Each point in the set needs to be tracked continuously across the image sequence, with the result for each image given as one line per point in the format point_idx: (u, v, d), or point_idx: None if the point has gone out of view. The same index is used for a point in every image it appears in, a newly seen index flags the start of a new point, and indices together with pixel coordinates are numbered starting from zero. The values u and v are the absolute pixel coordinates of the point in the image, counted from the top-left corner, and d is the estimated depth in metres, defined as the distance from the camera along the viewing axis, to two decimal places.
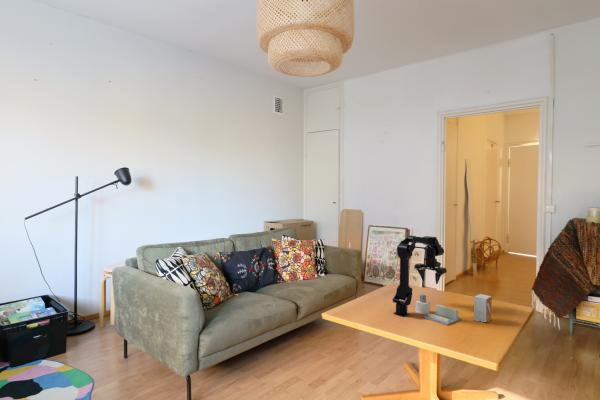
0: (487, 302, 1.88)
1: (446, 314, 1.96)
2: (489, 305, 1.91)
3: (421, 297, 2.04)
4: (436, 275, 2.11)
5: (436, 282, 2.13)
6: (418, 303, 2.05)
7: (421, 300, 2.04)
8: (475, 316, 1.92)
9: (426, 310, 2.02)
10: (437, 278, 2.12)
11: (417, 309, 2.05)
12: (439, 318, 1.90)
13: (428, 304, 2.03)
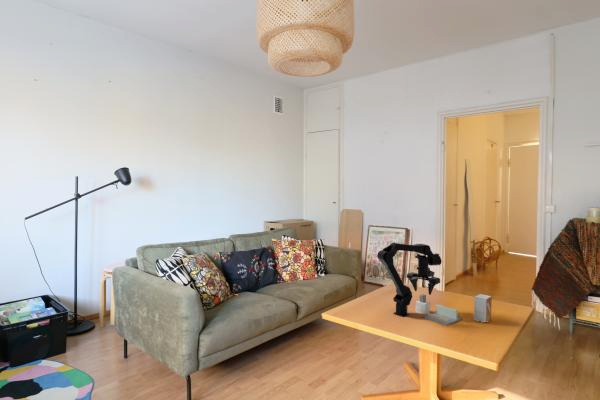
0: (487, 302, 1.88)
1: (446, 314, 1.96)
2: (489, 305, 1.91)
3: (421, 297, 2.04)
4: (429, 285, 1.99)
5: (429, 293, 2.01)
6: (418, 303, 2.05)
7: (421, 300, 2.04)
8: (475, 316, 1.92)
9: (426, 310, 2.02)
10: (430, 289, 1.99)
11: (417, 309, 2.05)
12: (439, 318, 1.90)
13: (428, 304, 2.03)
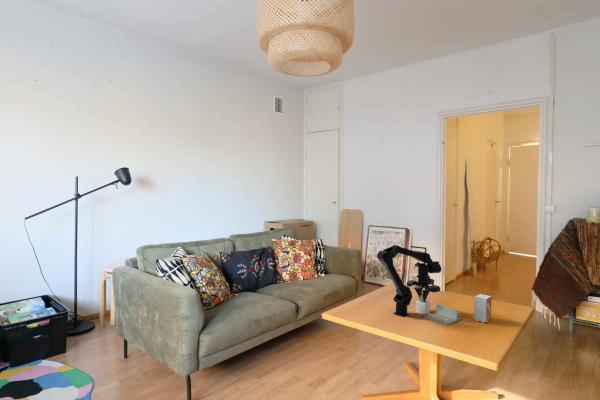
0: (487, 302, 1.88)
1: (446, 314, 1.96)
2: (489, 305, 1.91)
3: (421, 297, 2.04)
4: (424, 292, 2.01)
5: (424, 299, 2.03)
6: (418, 303, 2.05)
7: (421, 300, 2.04)
8: (475, 316, 1.92)
9: (426, 310, 2.02)
10: (425, 295, 2.02)
11: (417, 309, 2.05)
12: (439, 318, 1.90)
13: (428, 304, 2.03)
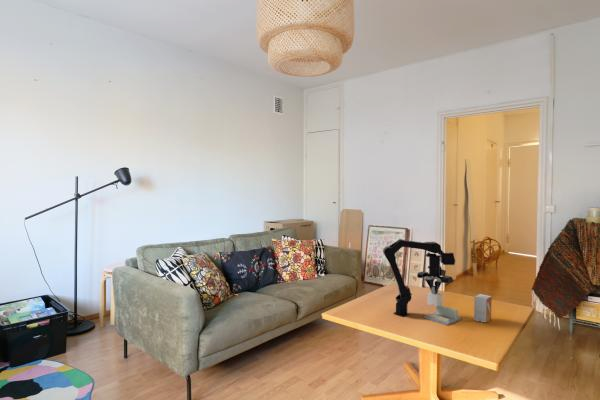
0: (487, 302, 1.88)
1: (446, 314, 1.96)
2: (489, 305, 1.91)
3: (433, 289, 1.98)
4: (436, 284, 1.95)
5: (436, 291, 1.97)
6: (429, 295, 1.98)
7: (433, 292, 1.98)
8: (475, 316, 1.92)
9: (438, 302, 1.96)
10: (437, 287, 1.96)
11: (428, 301, 1.99)
12: (439, 318, 1.90)
13: (440, 296, 1.97)
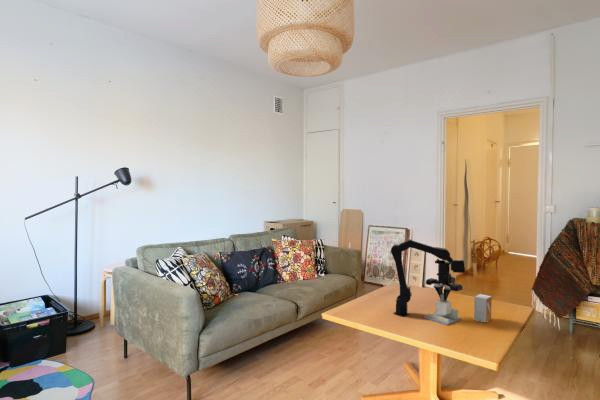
0: (487, 302, 1.88)
1: None
2: (489, 305, 1.91)
3: (442, 296, 1.94)
4: (445, 291, 1.91)
5: (445, 299, 1.93)
6: (438, 303, 1.94)
7: (442, 299, 1.94)
8: (475, 316, 1.92)
9: (447, 310, 1.91)
10: (446, 294, 1.92)
11: (437, 309, 1.95)
12: (439, 318, 1.90)
13: (449, 304, 1.93)
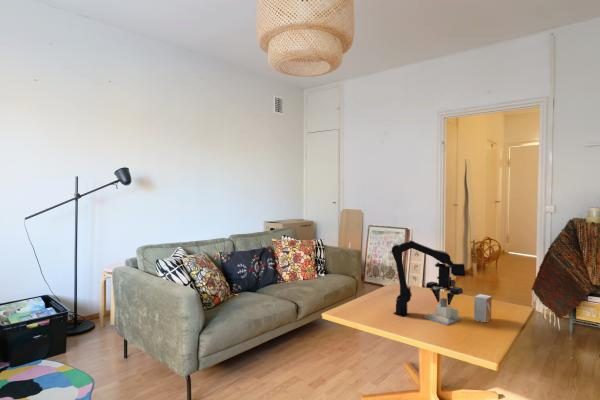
0: (487, 302, 1.88)
1: None
2: (489, 305, 1.91)
3: (442, 301, 1.94)
4: (448, 295, 1.90)
5: (448, 303, 1.91)
6: (438, 307, 1.94)
7: (442, 304, 1.94)
8: (475, 316, 1.92)
9: (447, 315, 1.92)
10: (449, 299, 1.90)
11: (437, 314, 1.95)
12: (439, 318, 1.90)
13: (449, 308, 1.93)
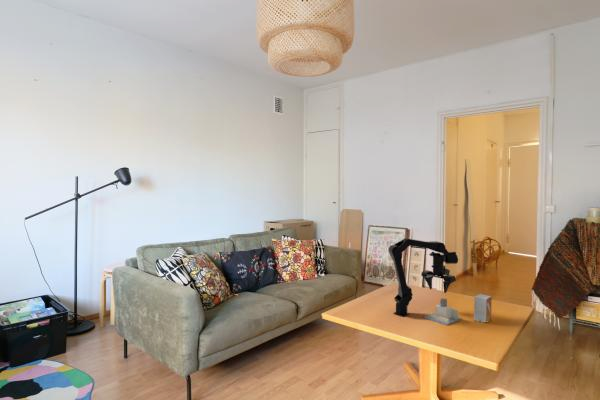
0: (487, 302, 1.88)
1: None
2: (489, 305, 1.91)
3: (442, 301, 1.94)
4: (444, 284, 1.96)
5: (444, 291, 1.98)
6: (438, 307, 1.94)
7: (442, 304, 1.94)
8: (475, 316, 1.92)
9: (447, 315, 1.92)
10: (445, 287, 1.97)
11: (437, 314, 1.95)
12: (439, 318, 1.90)
13: (449, 308, 1.93)
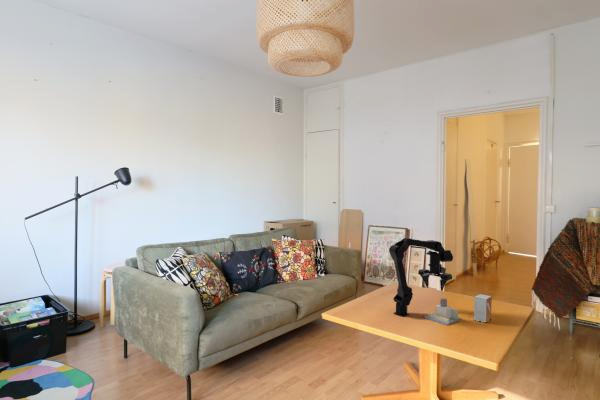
0: (487, 302, 1.88)
1: None
2: (489, 305, 1.91)
3: (442, 301, 1.94)
4: (441, 282, 2.00)
5: (441, 289, 2.02)
6: (438, 307, 1.94)
7: (442, 304, 1.94)
8: (475, 316, 1.92)
9: (447, 315, 1.92)
10: (442, 285, 2.01)
11: (437, 314, 1.95)
12: (439, 318, 1.90)
13: (449, 308, 1.93)
